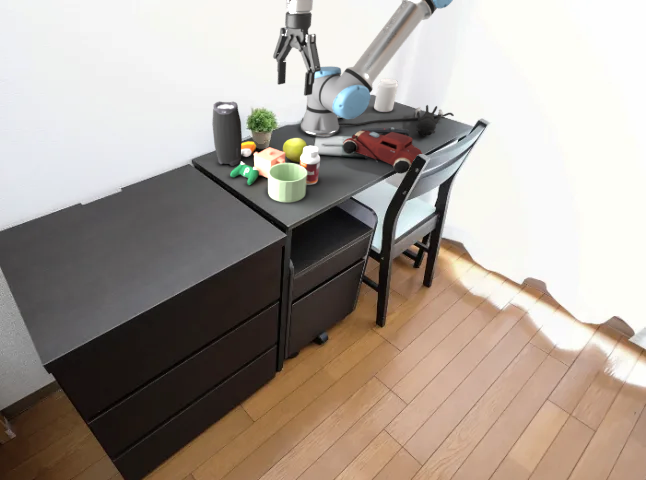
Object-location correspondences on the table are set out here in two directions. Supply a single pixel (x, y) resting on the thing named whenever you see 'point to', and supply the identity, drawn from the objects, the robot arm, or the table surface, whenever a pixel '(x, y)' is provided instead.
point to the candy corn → (247, 148)
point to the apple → (294, 149)
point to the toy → (427, 121)
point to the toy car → (384, 148)
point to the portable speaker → (227, 132)
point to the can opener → (387, 131)
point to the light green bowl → (287, 182)
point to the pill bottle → (311, 163)
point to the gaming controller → (246, 172)
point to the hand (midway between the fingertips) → (294, 89)
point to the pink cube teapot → (268, 160)
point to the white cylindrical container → (386, 95)
